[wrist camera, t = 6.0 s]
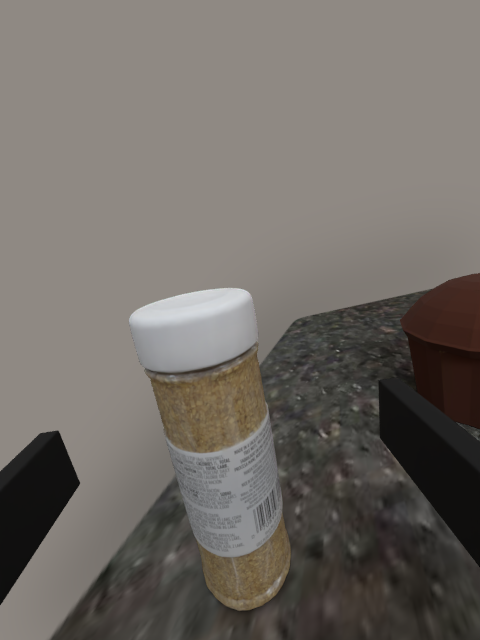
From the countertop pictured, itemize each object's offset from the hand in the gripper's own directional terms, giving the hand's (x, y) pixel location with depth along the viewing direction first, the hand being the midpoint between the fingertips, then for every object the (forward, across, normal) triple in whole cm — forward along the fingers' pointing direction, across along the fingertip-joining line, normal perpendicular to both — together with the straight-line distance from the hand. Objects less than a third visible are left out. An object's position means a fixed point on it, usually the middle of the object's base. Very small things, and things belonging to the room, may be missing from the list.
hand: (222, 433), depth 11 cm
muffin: (+9, +20, -8) cm, 23 cm away
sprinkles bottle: (0, 0, -8) cm, 8 cm away
